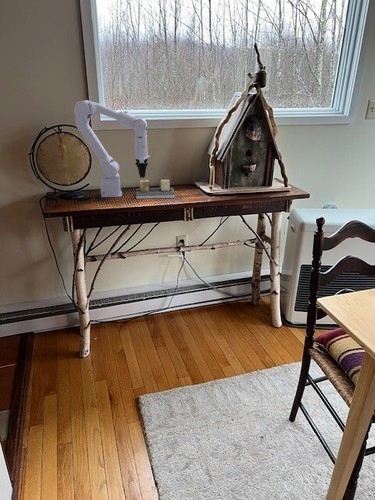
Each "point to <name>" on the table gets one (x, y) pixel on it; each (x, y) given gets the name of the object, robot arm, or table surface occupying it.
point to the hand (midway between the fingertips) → (142, 175)
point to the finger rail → (157, 191)
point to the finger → (144, 186)
